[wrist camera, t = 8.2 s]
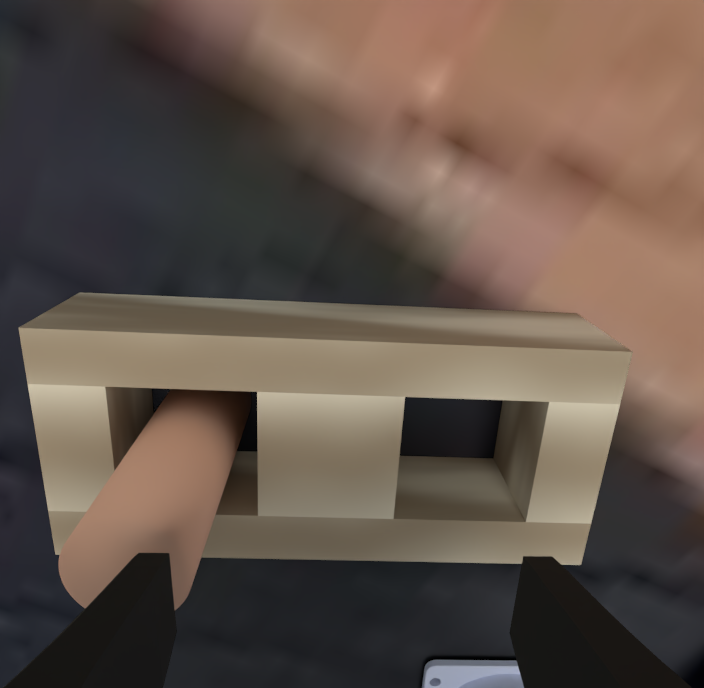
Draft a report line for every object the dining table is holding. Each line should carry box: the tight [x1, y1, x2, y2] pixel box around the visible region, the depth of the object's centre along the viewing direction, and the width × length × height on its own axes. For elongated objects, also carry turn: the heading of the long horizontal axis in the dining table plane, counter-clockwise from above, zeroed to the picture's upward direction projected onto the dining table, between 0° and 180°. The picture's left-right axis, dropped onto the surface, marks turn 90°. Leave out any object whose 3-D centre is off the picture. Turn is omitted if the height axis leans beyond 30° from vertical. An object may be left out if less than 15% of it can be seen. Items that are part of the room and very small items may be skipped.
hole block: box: [19, 293, 633, 565], centre depth 19 cm, size 8×18×4 cm, turn 87°
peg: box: [59, 389, 252, 610], centre depth 17 cm, size 3×3×9 cm
